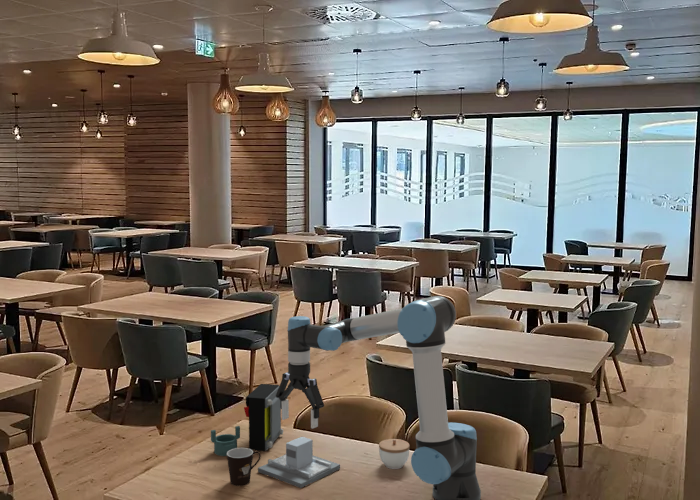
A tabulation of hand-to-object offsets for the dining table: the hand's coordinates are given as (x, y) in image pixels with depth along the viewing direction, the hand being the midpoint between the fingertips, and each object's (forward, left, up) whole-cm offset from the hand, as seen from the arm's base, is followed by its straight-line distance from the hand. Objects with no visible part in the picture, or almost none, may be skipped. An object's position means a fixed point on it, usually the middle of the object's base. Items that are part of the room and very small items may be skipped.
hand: (299, 423), depth 237 cm
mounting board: (0, 0, -17) cm, 17 cm away
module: (0, 0, -15) cm, 15 cm away
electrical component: (+28, -11, -17) cm, 35 cm away
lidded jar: (-23, -24, -17) cm, 37 cm away
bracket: (+32, +5, -17) cm, 37 cm away
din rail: (0, 0, -15) cm, 15 cm away
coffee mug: (+8, +18, -17) cm, 26 cm away
